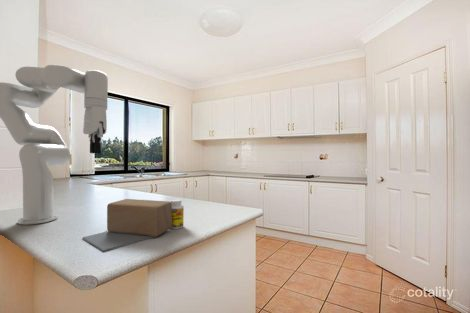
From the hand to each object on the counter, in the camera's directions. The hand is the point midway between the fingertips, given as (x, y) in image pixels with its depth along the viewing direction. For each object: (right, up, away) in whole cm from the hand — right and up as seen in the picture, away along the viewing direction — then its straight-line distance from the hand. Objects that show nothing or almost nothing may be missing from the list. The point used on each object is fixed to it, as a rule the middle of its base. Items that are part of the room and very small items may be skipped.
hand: (95, 153), depth 90 cm
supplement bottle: (+31, -28, 0) cm, 42 cm away
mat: (+15, -28, -11) cm, 34 cm away
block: (+9, -22, -3) cm, 25 cm away
